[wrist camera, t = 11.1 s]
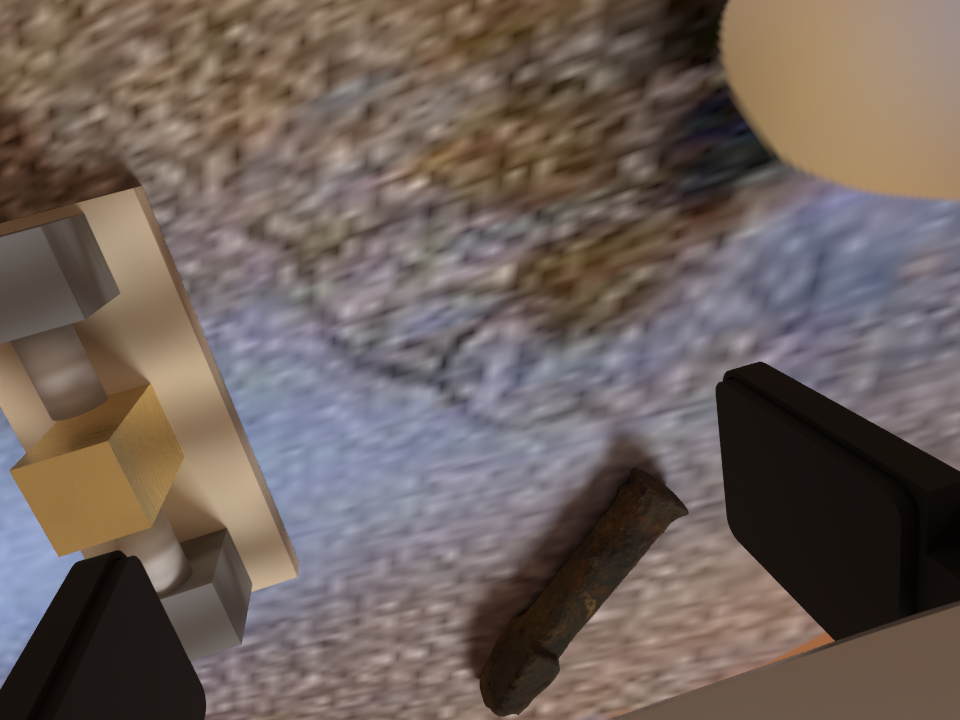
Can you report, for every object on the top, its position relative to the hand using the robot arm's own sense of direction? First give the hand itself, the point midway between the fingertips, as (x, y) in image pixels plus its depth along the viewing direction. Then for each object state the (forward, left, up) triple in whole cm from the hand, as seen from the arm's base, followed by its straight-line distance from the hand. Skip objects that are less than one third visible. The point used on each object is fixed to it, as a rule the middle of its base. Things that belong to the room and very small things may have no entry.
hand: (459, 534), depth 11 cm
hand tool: (+25, +6, -28) cm, 38 cm away
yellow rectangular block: (+5, -15, -26) cm, 30 cm away
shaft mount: (+5, -15, -28) cm, 32 cm away
